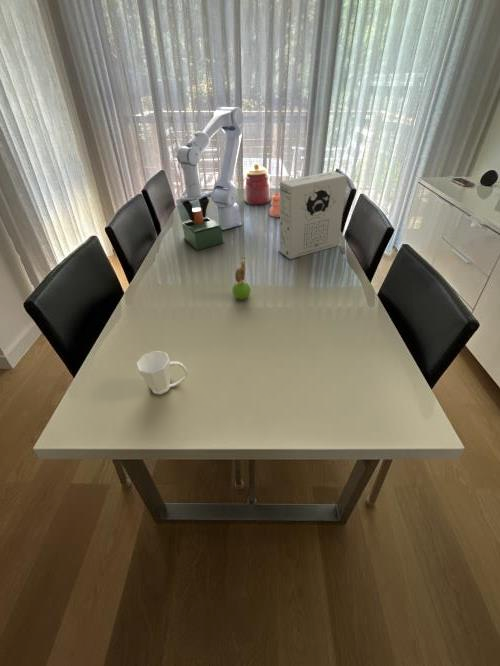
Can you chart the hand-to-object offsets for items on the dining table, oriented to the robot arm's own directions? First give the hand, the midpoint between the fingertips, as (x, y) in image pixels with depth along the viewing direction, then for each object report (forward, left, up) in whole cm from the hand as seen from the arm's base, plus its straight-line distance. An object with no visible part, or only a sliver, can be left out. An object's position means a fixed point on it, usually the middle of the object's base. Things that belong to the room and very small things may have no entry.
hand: (197, 218), depth 135 cm
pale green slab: (0, -5, +2) cm, 5 cm away
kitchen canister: (-43, -26, -8) cm, 51 cm away
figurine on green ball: (+7, +49, -8) cm, 50 cm away
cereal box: (-30, +34, -8) cm, 46 cm away
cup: (+39, +72, -8) cm, 82 cm away
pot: (0, 0, -1) cm, 1 cm away
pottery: (-45, -1, -8) cm, 46 cm away
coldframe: (0, +3, -8) cm, 9 cm away
